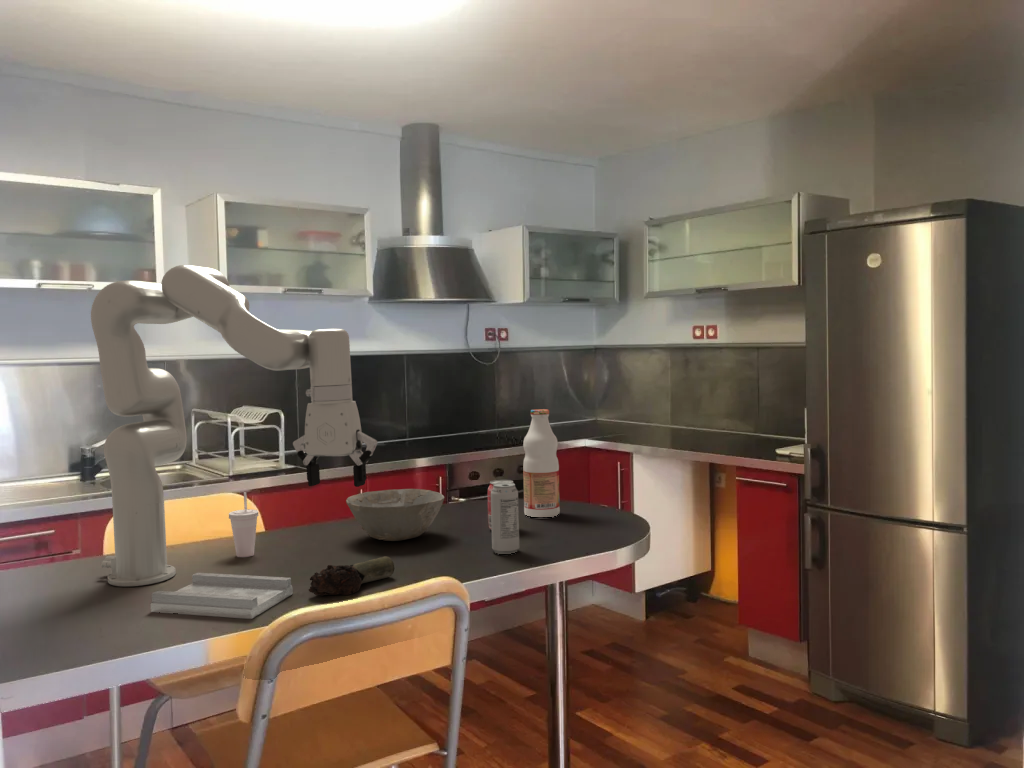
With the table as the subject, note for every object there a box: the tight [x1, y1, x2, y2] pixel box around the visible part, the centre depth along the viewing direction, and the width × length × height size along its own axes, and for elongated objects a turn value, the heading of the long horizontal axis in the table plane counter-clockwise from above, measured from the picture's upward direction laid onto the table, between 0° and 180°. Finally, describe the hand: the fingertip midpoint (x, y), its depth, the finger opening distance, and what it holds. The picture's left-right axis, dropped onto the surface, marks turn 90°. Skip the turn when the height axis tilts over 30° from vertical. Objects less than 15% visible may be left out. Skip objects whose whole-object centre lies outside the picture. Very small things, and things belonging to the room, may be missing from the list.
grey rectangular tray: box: [150, 572, 294, 620], centre depth 151 cm, size 20×14×3 cm
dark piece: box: [308, 555, 395, 596], centre depth 158 cm, size 18×7×6 cm, turn 139°
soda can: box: [487, 479, 514, 531], centre depth 203 cm, size 7×7×12 cm
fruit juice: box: [522, 408, 561, 518], centre depth 218 cm, size 9×9×28 cm
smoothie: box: [228, 491, 260, 558], centre depth 184 cm, size 6×6×14 cm
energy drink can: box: [491, 482, 520, 555], centre depth 182 cm, size 6×6×15 cm
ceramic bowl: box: [345, 488, 445, 542], centre depth 197 cm, size 22×23×10 cm
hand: (336, 485), depth 156 cm, fingers open, 9 cm apart
